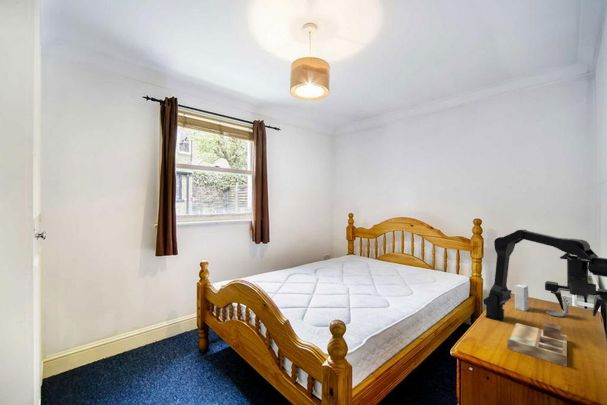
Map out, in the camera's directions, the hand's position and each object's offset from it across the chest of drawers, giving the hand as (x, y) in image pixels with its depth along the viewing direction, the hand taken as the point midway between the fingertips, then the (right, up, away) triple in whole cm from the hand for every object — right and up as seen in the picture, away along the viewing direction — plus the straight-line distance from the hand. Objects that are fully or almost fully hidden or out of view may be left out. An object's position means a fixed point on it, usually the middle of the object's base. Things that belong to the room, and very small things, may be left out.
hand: (577, 312), depth 103 cm
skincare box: (+9, -14, +38) cm, 42 cm away
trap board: (-14, -13, +2) cm, 19 cm away
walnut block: (-6, -11, +5) cm, 13 cm away
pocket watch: (+21, -14, +30) cm, 39 cm away
